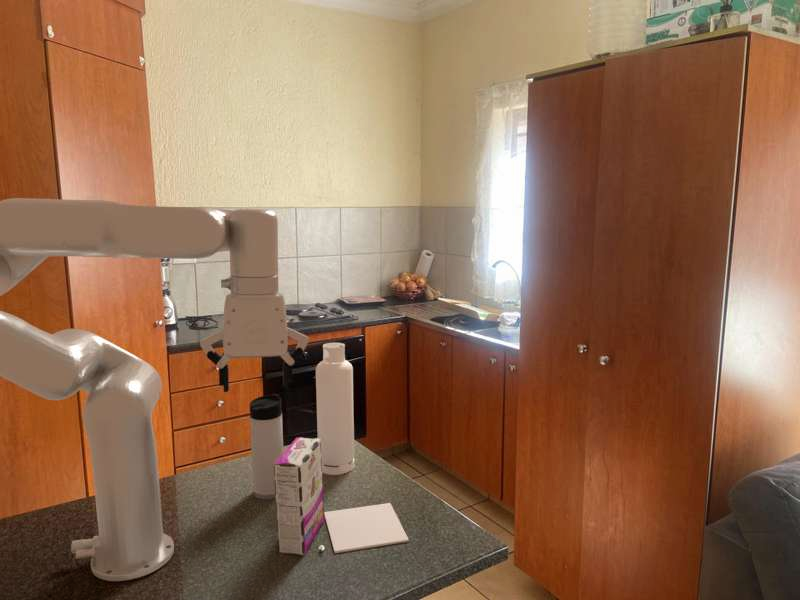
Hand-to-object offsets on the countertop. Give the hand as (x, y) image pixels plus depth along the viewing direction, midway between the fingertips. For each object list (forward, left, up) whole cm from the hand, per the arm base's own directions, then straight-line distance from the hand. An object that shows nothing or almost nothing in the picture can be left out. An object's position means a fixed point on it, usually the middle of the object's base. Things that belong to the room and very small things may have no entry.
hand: (256, 387), depth 97 cm
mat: (+18, 0, -28) cm, 33 cm away
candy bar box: (+7, 0, -28) cm, 29 cm away
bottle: (+17, +26, -28) cm, 42 cm away
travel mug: (+2, +18, -28) cm, 34 cm away
